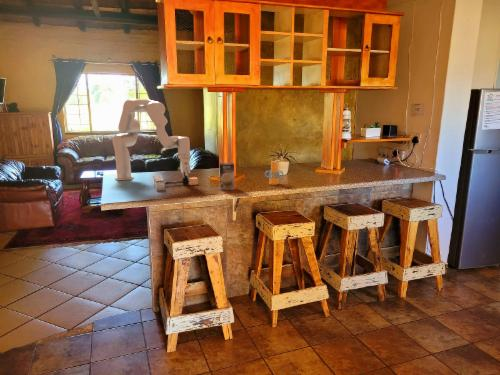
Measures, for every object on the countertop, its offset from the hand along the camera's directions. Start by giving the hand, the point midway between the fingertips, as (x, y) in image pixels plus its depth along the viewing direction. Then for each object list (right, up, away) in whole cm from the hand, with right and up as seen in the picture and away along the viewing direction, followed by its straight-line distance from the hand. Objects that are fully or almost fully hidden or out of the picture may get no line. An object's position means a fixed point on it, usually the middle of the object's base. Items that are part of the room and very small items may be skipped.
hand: (185, 183), depth 241 cm
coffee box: (+28, -4, -12) cm, 31 cm away
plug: (-4, -1, -1) cm, 4 cm away
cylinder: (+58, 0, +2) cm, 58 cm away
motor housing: (-16, -2, -5) cm, 17 cm away
